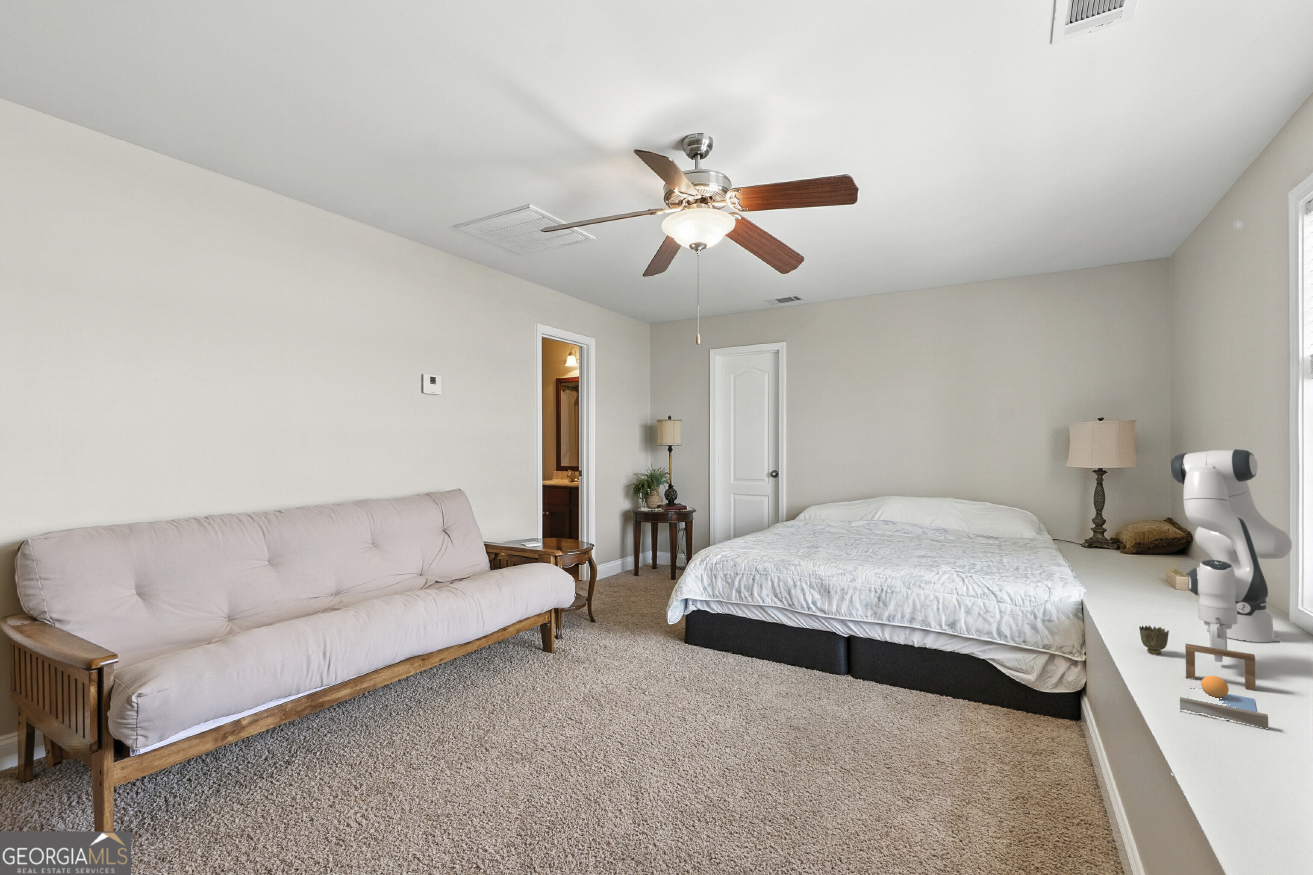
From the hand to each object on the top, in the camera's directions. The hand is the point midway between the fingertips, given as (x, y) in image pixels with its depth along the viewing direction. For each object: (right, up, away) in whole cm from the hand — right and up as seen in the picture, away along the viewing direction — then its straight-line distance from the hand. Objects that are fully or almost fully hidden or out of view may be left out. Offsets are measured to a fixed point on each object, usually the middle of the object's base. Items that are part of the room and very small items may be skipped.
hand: (1218, 660), depth 188 cm
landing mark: (-22, -2, -25) cm, 33 cm away
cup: (-10, -2, +12) cm, 16 cm away
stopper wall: (-31, -2, -35) cm, 47 cm away
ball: (-21, +1, -22) cm, 31 cm away
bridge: (-11, -2, -13) cm, 17 cm away
